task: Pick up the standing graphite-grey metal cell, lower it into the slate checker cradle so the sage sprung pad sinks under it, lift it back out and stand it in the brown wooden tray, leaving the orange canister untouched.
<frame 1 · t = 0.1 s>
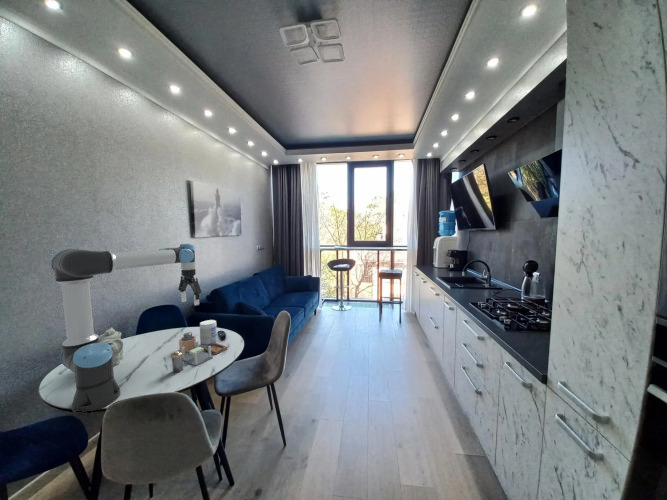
hand: (190, 303, 154), 28 cm above the table, fingers open, 13 cm apart
checker cradle: (197, 358, 142), on the table
brown wooden tray: (215, 349, 153), on the table
supplement tub: (208, 345, 160), on the table, touching brown wooden tray
checker pad: (196, 350, 142), point 5 cm above the table, slide at 0.0 cm
orange canister: (187, 349, 154), on the table
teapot: (109, 365, 137), on the table
cell: (177, 370, 130), on the table
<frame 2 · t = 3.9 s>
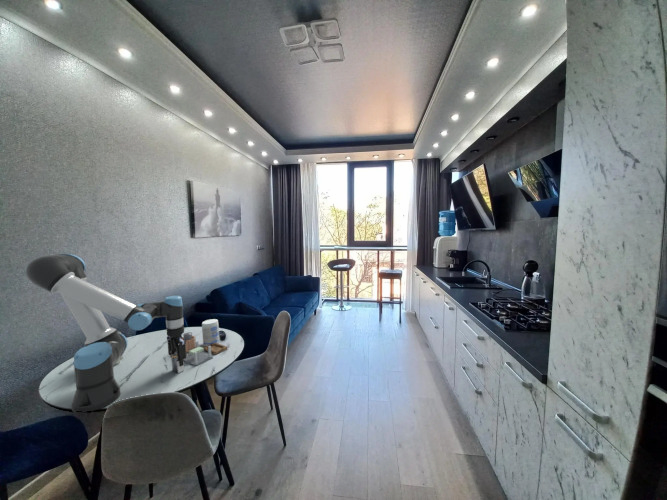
hand: (178, 370, 130), 0 cm above the table, fingers closed on cell, 5 cm apart
supplement tub: (211, 344, 162), on the table, touching brown wooden tray
cell: (177, 370, 130), on the table, touching gripper
everything else where it was.
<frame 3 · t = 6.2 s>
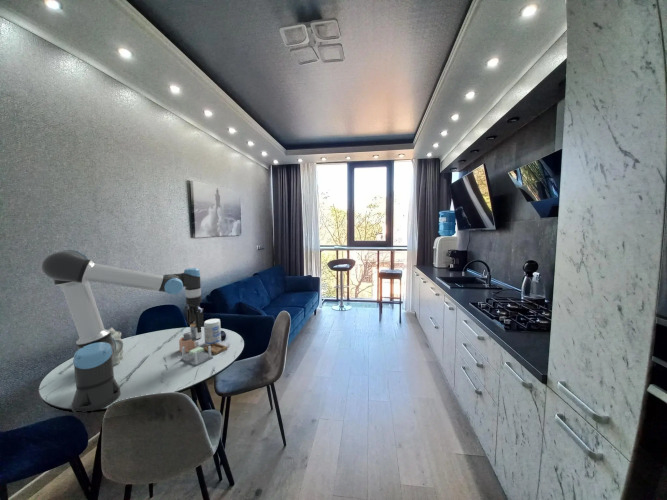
hand: (196, 336, 141), 13 cm above the table, fingers closed on cell, 4 cm apart
cell: (196, 339, 141), point 12 cm above the table, touching gripper
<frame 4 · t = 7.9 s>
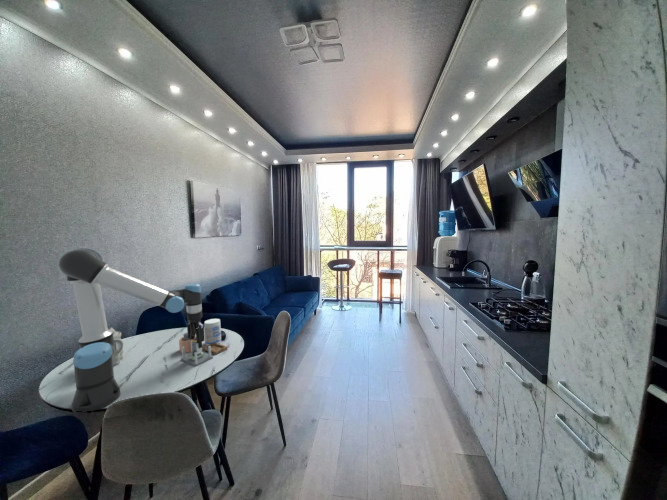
hand: (196, 351, 142), 4 cm above the table, fingers closed on cell, 4 cm apart
checker pad: (196, 355, 142), point 2 cm above the table, slide at -2.8 cm, touching cell
cell: (196, 354, 142), point 3 cm above the table, touching checker pad, gripper
when the fingers open (3 cm above the table, at t = 12.8 s): cell stays where it is, resting on brown wooden tray.
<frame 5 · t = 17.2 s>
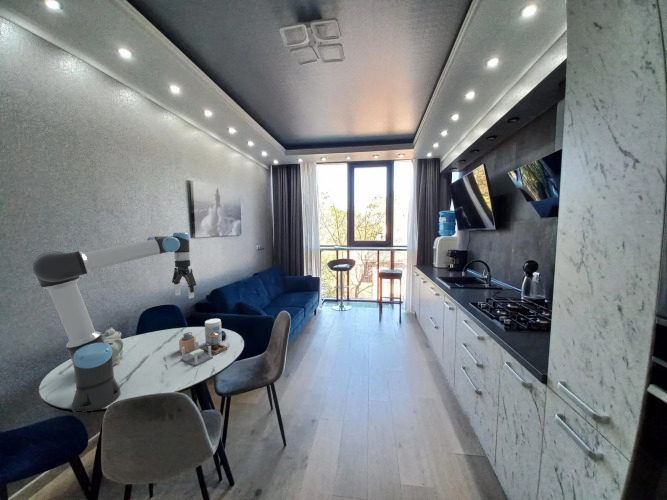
hand: (184, 296, 144), 35 cm above the table, fingers open, 13 cm apart
checker pad: (196, 352, 142), point 4 cm above the table, slide at -1.2 cm
cell: (215, 348, 153), point 1 cm above the table, touching brown wooden tray
at the end: cell inside the target area on the brown wooden tray (0.1 cm from its centre), point 0.6 cm above the brown wooden tray's base; cell tilted 0°; the gripper is holding nothing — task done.
